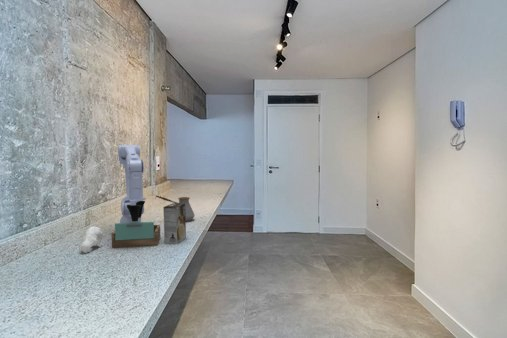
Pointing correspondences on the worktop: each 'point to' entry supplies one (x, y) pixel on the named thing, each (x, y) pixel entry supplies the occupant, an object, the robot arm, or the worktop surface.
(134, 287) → the worktop surface
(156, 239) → the brown wooden open box
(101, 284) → the worktop surface
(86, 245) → the white rounded lump
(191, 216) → the coffee pot
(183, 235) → the coffee box
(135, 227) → the panel
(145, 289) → the worktop surface
